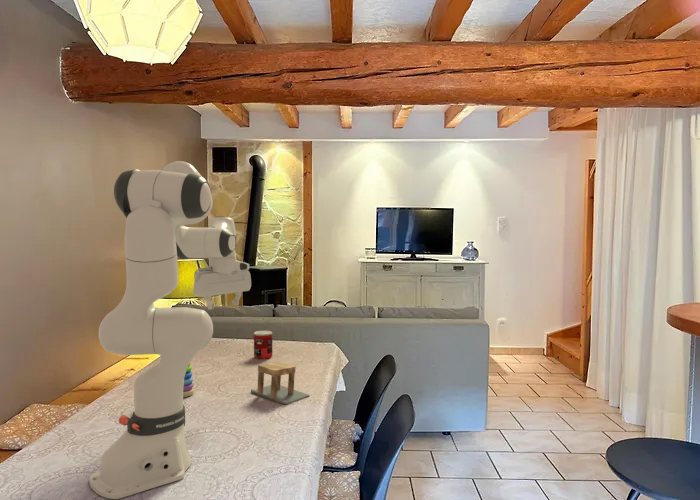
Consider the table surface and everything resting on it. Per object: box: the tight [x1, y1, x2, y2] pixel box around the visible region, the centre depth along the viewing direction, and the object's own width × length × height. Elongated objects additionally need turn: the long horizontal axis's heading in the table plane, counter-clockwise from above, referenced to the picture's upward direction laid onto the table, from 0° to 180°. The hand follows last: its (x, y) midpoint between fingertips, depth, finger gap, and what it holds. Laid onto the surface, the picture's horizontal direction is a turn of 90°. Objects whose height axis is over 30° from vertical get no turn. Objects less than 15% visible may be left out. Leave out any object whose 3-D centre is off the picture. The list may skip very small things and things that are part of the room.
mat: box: [250, 384, 311, 406], centre depth 173 cm, size 11×18×1 cm, turn 48°
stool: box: [256, 361, 297, 399], centre depth 171 cm, size 10×9×9 cm
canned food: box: [253, 330, 273, 360], centre depth 218 cm, size 8×8×11 cm
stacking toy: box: [183, 361, 195, 398], centre depth 172 cm, size 8×8×19 cm
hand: (223, 307), depth 166 cm, fingers open, 8 cm apart
